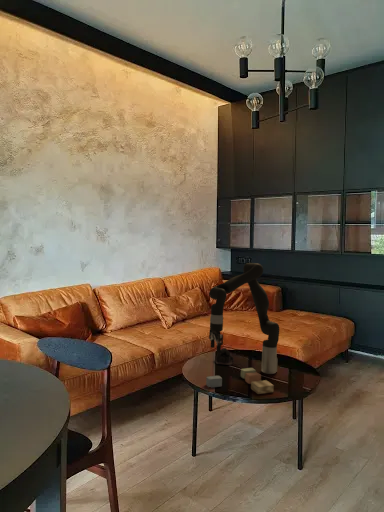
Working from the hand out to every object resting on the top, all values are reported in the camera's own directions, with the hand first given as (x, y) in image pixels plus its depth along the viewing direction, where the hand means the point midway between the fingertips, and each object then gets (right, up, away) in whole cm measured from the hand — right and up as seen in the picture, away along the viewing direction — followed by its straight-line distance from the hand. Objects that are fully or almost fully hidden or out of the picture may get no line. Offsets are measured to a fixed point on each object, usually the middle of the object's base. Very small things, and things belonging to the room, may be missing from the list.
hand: (215, 349), depth 227 cm
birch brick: (+27, -23, -3) cm, 35 cm away
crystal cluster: (+9, -20, +44) cm, 49 cm away
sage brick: (+21, -22, +17) cm, 35 cm away
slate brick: (-1, -22, +1) cm, 22 cm away
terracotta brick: (+23, -22, +9) cm, 33 cm away
